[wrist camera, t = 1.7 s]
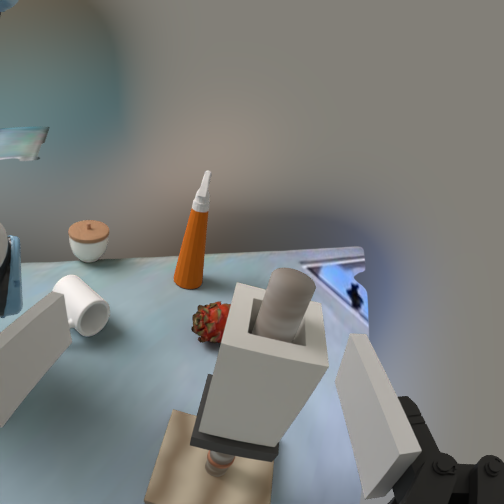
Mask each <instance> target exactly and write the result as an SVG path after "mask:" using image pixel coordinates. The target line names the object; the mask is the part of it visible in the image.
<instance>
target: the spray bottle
mask: <svg viewBox="0 0 504 504" xmlns="http://www.w3.org/2000/svg"><path fill="white" fill-rule="evenodd" d="M210 177H211V171H205V174H204V177H203V180H202V184H201V187H200V189H199V190H198V191H197V193H196V197H195V199H194V200H193V206H192V209H191V213H190V216H189V220H188V224H187V227H186V231H185V235H184V238H183V243H182V246H181V250H180V254H179V258H178V262H177V266H176V270H175V274H174V282H175V283H176V284H177V285H178V286H180V287H182V288H185V289H195V288H198V287H200V286H201V284H202V279H203V266H204V254H205V242H206V230H207V219H208V209H209V204H210V202H209V191H208V186H209V183H210Z"/></svg>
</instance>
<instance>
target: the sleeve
mask: <svg viewBox="0 0 504 504" xmlns="http://www.w3.org/2000/svg"><path fill="white" fill-rule="evenodd" d="M265 292H266V290H265V289H261V288H257V287H253V286H249V285H245V284H242V283H238V282H237V284H236V287H235V291H234V295H233V299H232V303H231V306H230V310H229V314H228V318H227V322H226V326H225V330H224V333H223V337H222V341H221V345H220V349H219V353H218V357H217V361H216V364H215V368H214V372H213V376H212V380H211V384H210V388H209V392H208V396H207V400H206V404H205V407H204V411H203V415H202V419H201V423H200V427H199V432H202V433H206V434H210V435H215V436H219V437H223V438H228V439H233V440H237V441H242V442H247V443H253V444H258V445H264V446H270V447H275V446H276V445H277V443H278V442H279V441H280V439H281V438H282V437H283V435H284V434H285V432H286V431H287V430H288V428H289V427H290V425H291V424H292V423H293V421H294V420H295V418H296V417H297V415H298V414H299V412H300V411H301V409H302V408H303V406H304V405H305V403H306V402H307V400H308V399H309V397H310V396H311V394H312V393H313V391H314V390H315V388H316V387H317V385H318V383H319V382H320V380H321V379H322V377H323V375H324V374H325V372H326V371H327V369H328V367H329V364H328V355H327V347H326V338H325V330H324V323H323V315H322V308H321V303H317V302H313V301H310V303H309V305H308V308H307V310H306V312H305V315H304V317H303V319H302V321H301V324H300V326H299V328H298V330H297V333H296V335H295V337H294V339H293V342H292V343H287V342H283V341H279V340H274V339H270V338H266V337H261V336H257V335H253V334H252V331H253V328H254V325H255V322H256V319H257V316H258V313H259V310H260V307H261V304H262V301H263V298H264V295H265Z"/></svg>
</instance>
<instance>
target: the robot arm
mask: <svg viewBox="0 0 504 504" xmlns="http://www.w3.org/2000/svg"><path fill="white" fill-rule="evenodd" d="M17 2H18V0H0V15H1V12H4V11H6V10H7V9H10V8H12V7H13V6H14V5H15V4H16V3H17ZM22 306H23V301H22V282H21V256H20V239H19V238H18V237H17V236H12V235H9V236H8V237H7V234H6V231H5V228H4V227H3V225H2V224H1V223H0V317H1V318H5V317H6V316H10V315H15V314H18V313H19V312H20V311H21V309H22ZM71 343H72V338H71V333H70V328H69V323H68V317H67V311H66V305H65V298H64V294H61V293H57V292H53V291H52V292H51V293H49V294H48V295H47V296H45V297H44V298H43V299H41V300H40V301H39V302H38V303H36V304H35V305H34V306H33V307H31V308H30V309H29V310H28V311H26V312H25V313H24V314H23V315H21V316H20V317H19V318H18V319H16V320H15V321H14V322H13V323H12V324H10V325H9V326H8V327H7V328H6V329H4V330H3V331H2V332H1V333H0V427H1V428H2V427H3V426H4V424H5V423H6V422H7V420H8V419H9V418H10V417H11V415H12V414H13V413H14V411H15V410H16V409H17V408H18V406H19V405H20V404H21V403H22V401H23V400H24V399H25V398H26V396H27V395H28V394H29V393H30V391H31V390H32V389H33V388H34V386H35V385H36V384H37V383H38V382H39V380H40V379H41V378H42V377H43V376H44V374H45V373H46V372H47V371H48V370H49V368H50V367H51V366H52V365H53V364H54V363H55V361H56V360H57V359H58V358H59V357H60V356H61V355H62V353H63V352H64V351H65V350H66V349H67V348H68V347H69V345H70V344H71ZM335 384H336V388H337V392H338V395H339V399H340V403H341V406H342V410H343V414H344V417H345V421H346V425H347V429H348V433H349V437H350V440H351V444H352V448H353V452H354V456H355V460H356V464H357V468H358V473H359V477H360V481H361V485H362V490H363V494H364V498H365V499H371V498H377V497H383V496H385V495H386V494H387V493H388V492H389V491H390V490H391V489H393V492H394V495H395V497H394V498H393V499H392V500H391V501H390V502H389V503H388V504H504V463H503V462H502V460H501V459H499V458H498V457H496V456H493V455H486V456H484V457H482V458H481V459H480V460H479V461H478V463H477V464H476V465H473V464H457V462H456V461H455V459H454V458H453V457H452V456H450V455H448V454H445V453H441V452H440V451H439V449H438V447H437V445H436V443H435V441H434V439H433V437H432V435H431V433H430V431H429V429H428V427H427V425H426V424H425V421H424V419H423V417H422V416H421V413H420V411H419V409H418V407H417V405H416V404H415V403H414V402H413V401H412V400H411V399H410V398H409V397H408V396H402V397H397V395H396V393H395V391H394V389H393V387H392V385H391V383H390V381H389V379H388V377H387V375H386V373H385V371H384V369H383V367H382V365H381V363H380V361H379V359H378V357H377V355H376V353H375V351H374V349H373V347H372V345H371V344H370V341H369V339H368V337H367V335H366V334H350V335H349V339H348V342H347V345H346V349H345V352H344V355H343V358H342V361H341V364H340V367H339V370H338V373H337V376H336V379H335Z"/></svg>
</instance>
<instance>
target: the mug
mask: <svg viewBox="0 0 504 504" xmlns="http://www.w3.org/2000/svg"><path fill="white" fill-rule="evenodd" d="M53 292H57V293H61V294H64V298H65V305H66V311H67V317H68V323H69V328H73V327H74V328H75V329H76V330H77V331H78V332H79V333H80V334H81V335H83V336H86V337H89V336H93V335H95V334H97V333H98V332H99V331H101V330H102V329H103V327H104V326H105V325H106V323H107V321H108V319H109V316H110V307H109V304H108V303H107V302H106V301H105V300H104V299H103V298H101V297H100V296H99V295H98V294H97V293H96V292H95V291H94V290H92V289H91V288H90V287H89V286H88V285H87V284H86V283H85V282H83V281H82V280H81V279H80V278H79V277H78V276H76V275H68V276H65V277H63V278H62V279H60V280H59V281H58V282H57V283H56V285H55V286H54V288H53Z"/></svg>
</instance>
